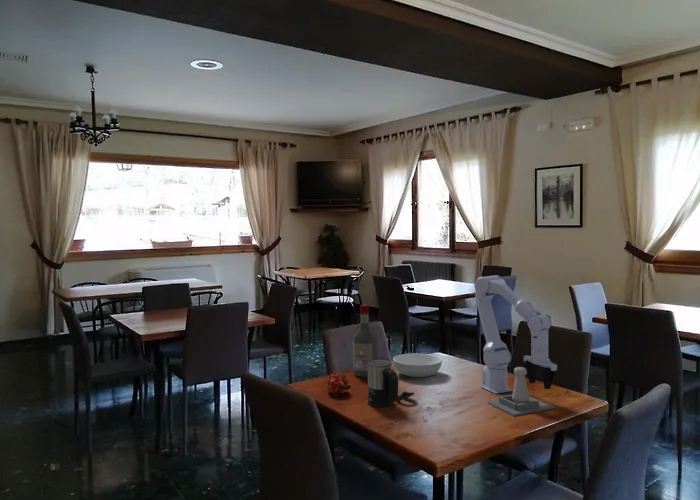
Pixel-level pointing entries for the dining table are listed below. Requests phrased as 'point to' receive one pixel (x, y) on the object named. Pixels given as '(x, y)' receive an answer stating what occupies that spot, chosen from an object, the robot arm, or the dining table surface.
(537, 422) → the dining table surface
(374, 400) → the milk frother
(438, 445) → the dining table surface
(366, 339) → the liquor
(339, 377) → the dragon fruit
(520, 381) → the salt shaker
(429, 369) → the serving bowl
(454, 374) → the dining table surface
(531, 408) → the stand
